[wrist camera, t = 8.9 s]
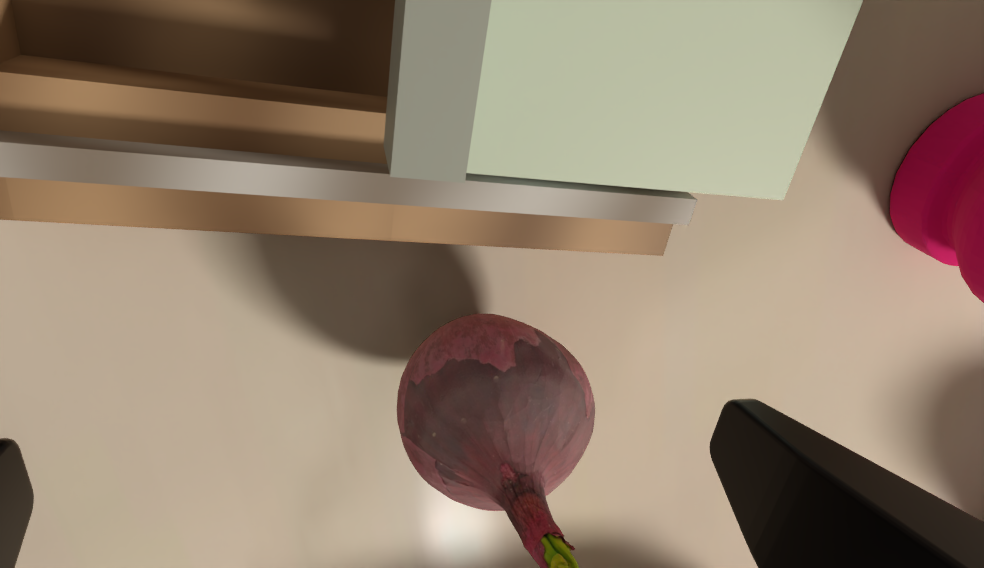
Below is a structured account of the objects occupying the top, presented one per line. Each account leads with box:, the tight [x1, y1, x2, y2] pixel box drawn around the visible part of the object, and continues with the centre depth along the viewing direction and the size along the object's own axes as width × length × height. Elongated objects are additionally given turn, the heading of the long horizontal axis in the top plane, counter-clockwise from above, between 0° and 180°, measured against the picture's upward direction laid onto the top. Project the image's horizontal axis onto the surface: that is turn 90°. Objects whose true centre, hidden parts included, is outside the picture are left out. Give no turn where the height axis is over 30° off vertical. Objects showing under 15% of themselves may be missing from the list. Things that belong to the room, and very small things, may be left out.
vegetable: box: [397, 314, 595, 568], centre depth 18 cm, size 6×6×10 cm
